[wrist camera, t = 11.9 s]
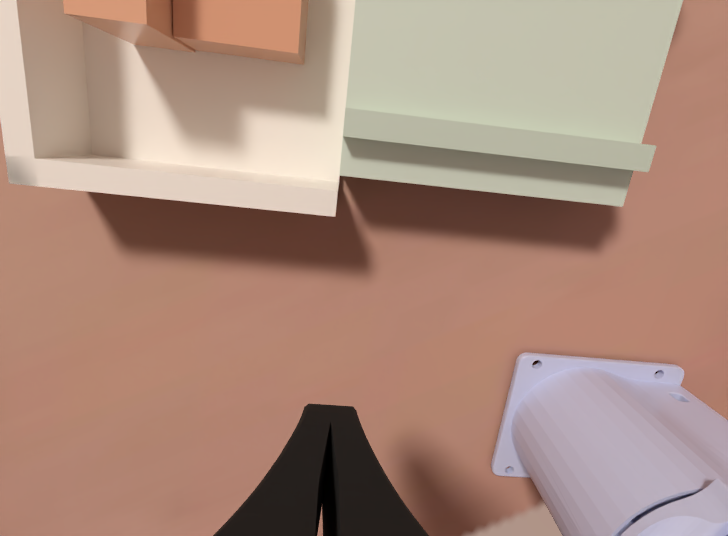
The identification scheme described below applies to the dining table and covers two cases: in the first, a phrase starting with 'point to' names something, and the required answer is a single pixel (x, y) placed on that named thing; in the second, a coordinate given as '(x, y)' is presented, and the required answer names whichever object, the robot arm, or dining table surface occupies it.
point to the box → (173, 113)
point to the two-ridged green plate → (505, 94)
